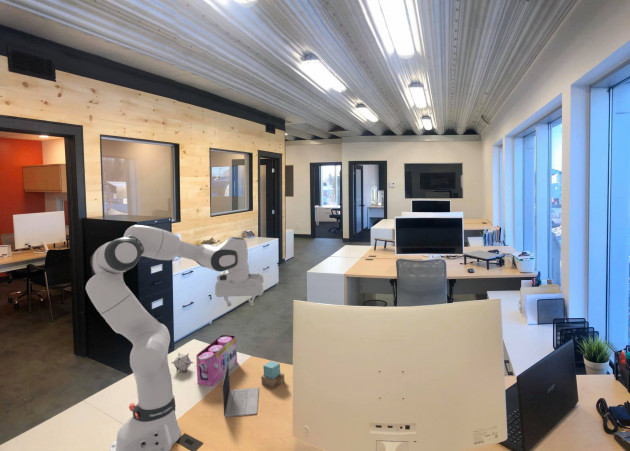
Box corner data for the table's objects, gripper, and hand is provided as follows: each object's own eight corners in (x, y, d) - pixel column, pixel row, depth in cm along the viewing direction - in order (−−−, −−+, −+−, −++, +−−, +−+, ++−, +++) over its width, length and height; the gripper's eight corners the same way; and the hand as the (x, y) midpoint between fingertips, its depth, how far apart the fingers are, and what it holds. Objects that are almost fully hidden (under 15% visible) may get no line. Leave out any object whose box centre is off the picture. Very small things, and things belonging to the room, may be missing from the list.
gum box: (211, 388, 165) (209, 358, 163) (195, 386, 167) (193, 356, 165) (237, 362, 188) (236, 335, 186) (223, 360, 190) (221, 334, 188)
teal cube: (272, 379, 164) (272, 368, 163) (264, 376, 166) (263, 365, 166) (280, 374, 168) (279, 363, 167) (271, 371, 171) (271, 360, 170)
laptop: (257, 415, 146) (255, 383, 144) (223, 418, 145) (221, 386, 143) (258, 389, 164) (257, 360, 162) (229, 391, 162) (227, 362, 161)
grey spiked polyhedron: (180, 377, 182) (172, 357, 185) (197, 368, 184) (189, 349, 187) (174, 377, 174) (167, 356, 177) (192, 367, 176) (184, 347, 179)
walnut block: (273, 390, 163) (272, 381, 162) (261, 384, 167) (261, 376, 166) (284, 382, 168) (284, 374, 168) (273, 377, 172) (272, 369, 172)
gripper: (263, 271, 166) (265, 302, 168) (216, 273, 166) (218, 303, 167) (262, 275, 160) (263, 307, 162) (213, 277, 159) (215, 308, 161)
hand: (240, 305), depth 165 cm, fingers open, 8 cm apart
